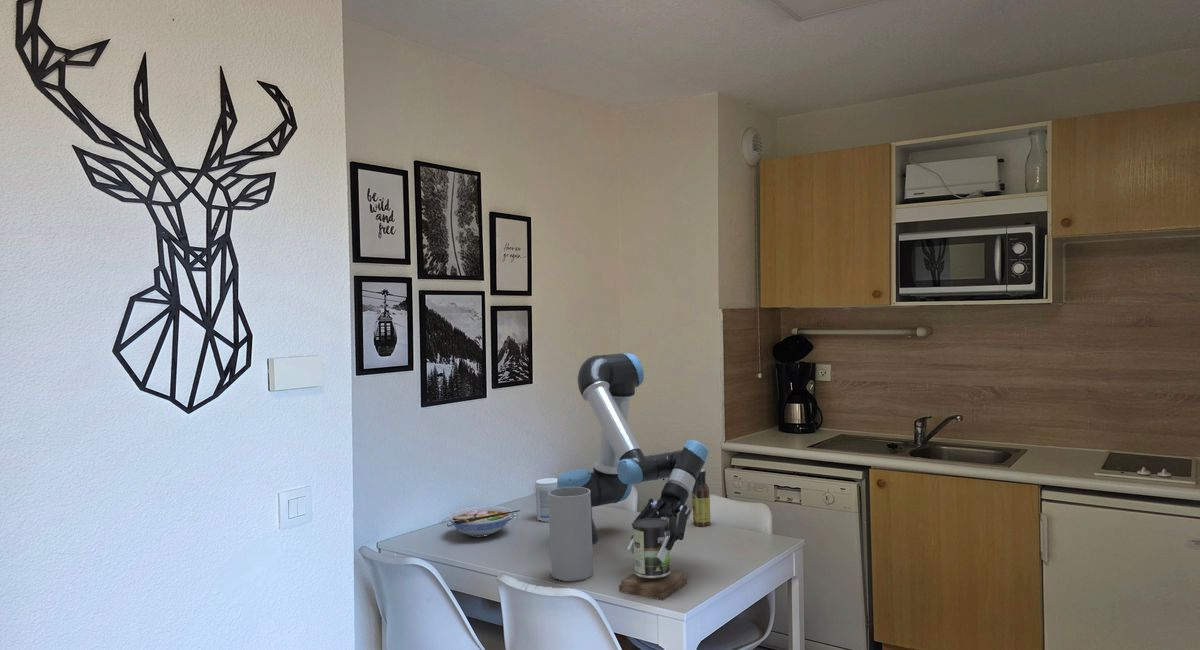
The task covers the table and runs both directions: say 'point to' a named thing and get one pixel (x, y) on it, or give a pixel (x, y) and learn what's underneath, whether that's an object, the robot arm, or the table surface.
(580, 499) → the cylinder vase
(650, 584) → the walnut plinth
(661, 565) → the coffee can
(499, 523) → the ramen bowl
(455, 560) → the table surface
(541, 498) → the supplement tub
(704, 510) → the sauce bottle
